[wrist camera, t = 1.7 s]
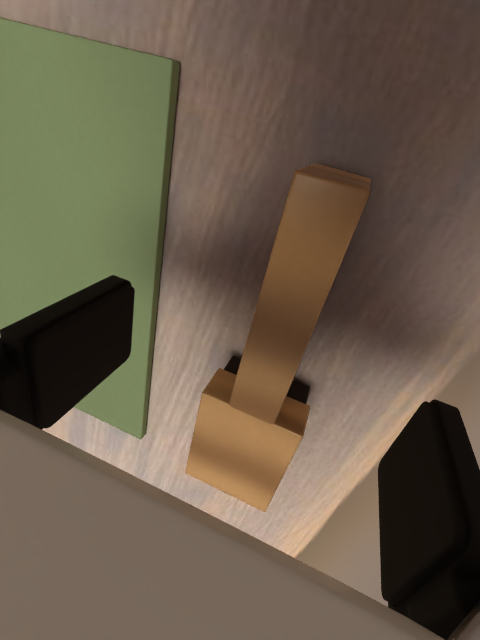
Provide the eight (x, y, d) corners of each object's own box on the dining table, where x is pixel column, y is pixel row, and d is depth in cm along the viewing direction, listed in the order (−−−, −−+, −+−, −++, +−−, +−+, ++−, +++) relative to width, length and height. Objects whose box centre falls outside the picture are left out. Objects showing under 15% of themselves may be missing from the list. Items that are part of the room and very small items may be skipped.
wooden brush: (281, 153, 13) (252, 157, 10) (407, 189, 12) (419, 205, 9) (211, 426, 21) (184, 473, 18) (280, 458, 20) (265, 513, 17)
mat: (-94, -4, 15) (-110, -9, 14) (180, 62, 12) (172, 59, 12) (-4, 361, 27) (-12, 365, 26) (145, 434, 24) (141, 440, 24)
